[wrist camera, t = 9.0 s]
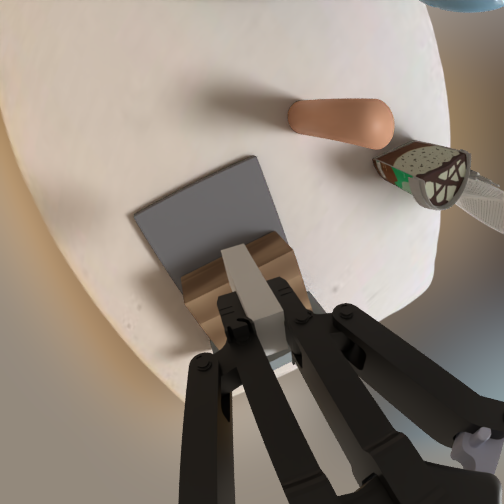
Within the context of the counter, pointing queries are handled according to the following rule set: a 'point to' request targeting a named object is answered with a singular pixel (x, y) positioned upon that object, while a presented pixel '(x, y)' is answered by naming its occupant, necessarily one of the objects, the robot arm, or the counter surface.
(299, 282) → the block
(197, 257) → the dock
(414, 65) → the counter surface
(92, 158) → the counter surface
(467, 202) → the skyscraper
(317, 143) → the counter surface
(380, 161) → the food container
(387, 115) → the dowel
